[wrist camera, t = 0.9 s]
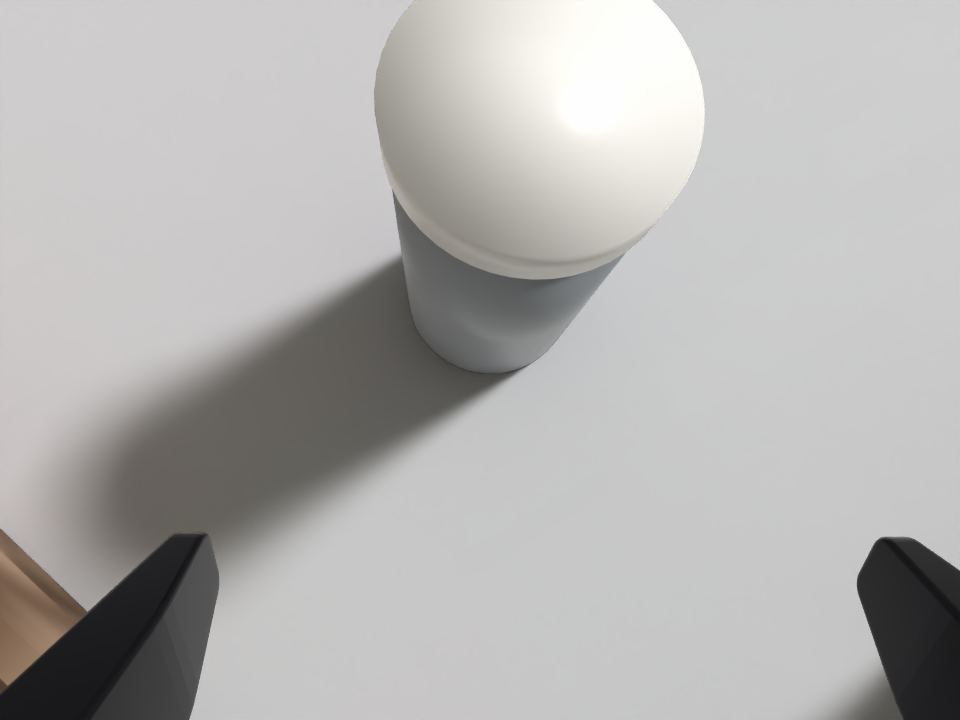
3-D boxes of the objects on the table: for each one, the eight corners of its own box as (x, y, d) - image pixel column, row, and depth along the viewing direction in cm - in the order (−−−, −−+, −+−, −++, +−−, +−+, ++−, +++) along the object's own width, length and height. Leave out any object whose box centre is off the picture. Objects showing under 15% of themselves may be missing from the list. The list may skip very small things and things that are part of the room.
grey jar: (573, 378, 23) (712, 263, 12) (402, 374, 23) (366, 252, 11) (572, 217, 24) (696, -37, 13) (408, 211, 24) (381, -56, 12)
